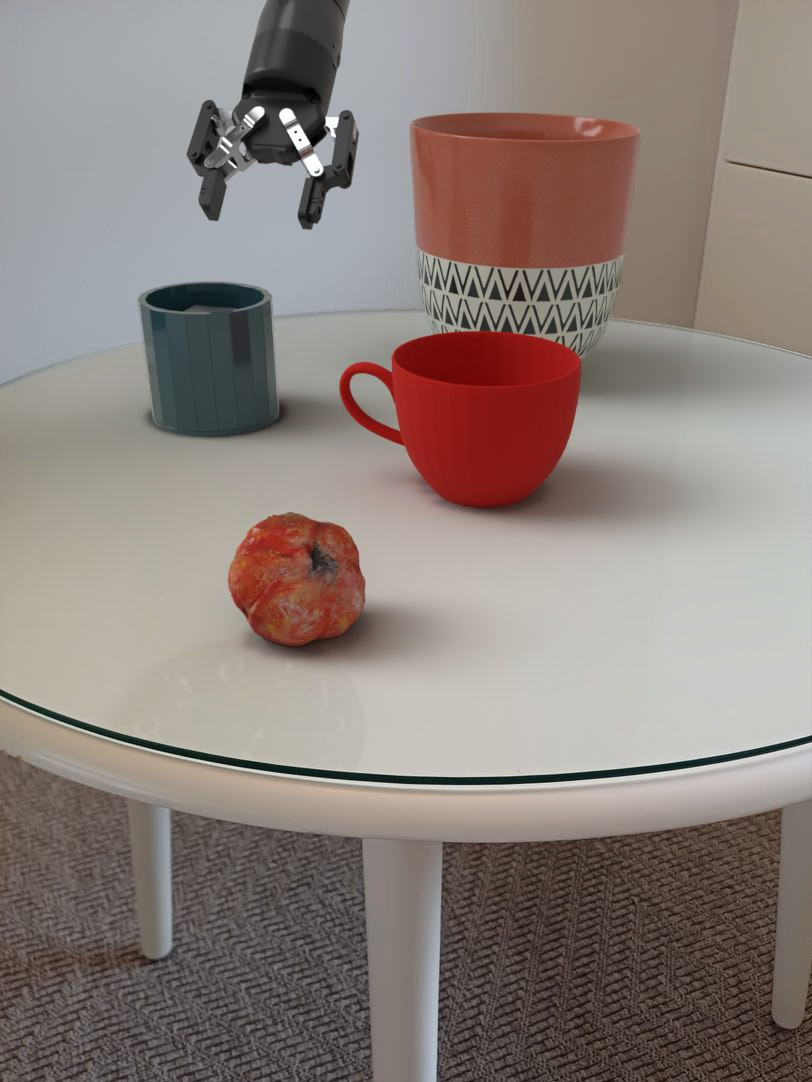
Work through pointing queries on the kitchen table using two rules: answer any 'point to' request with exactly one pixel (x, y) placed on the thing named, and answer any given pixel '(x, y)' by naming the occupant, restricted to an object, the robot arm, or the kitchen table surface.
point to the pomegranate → (297, 579)
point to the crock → (210, 358)
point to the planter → (522, 222)
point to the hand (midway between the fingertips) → (256, 220)
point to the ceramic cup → (478, 411)
